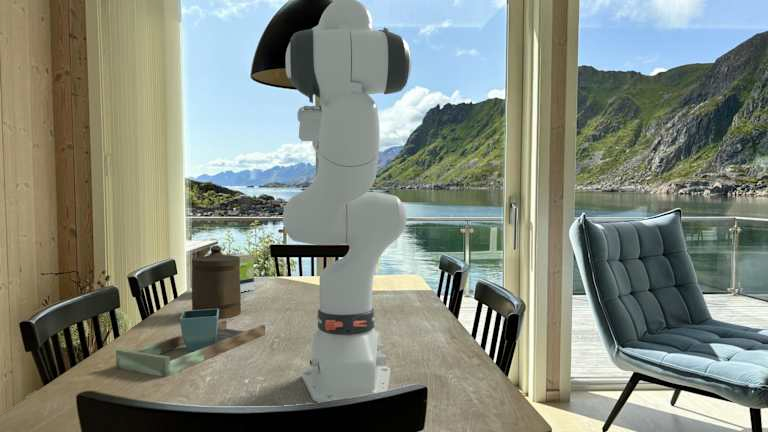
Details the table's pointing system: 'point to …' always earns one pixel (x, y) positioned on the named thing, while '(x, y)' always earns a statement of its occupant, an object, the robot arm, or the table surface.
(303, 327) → the table surface
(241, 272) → the tea box
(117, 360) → the channel
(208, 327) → the flower pot
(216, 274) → the wooden container
